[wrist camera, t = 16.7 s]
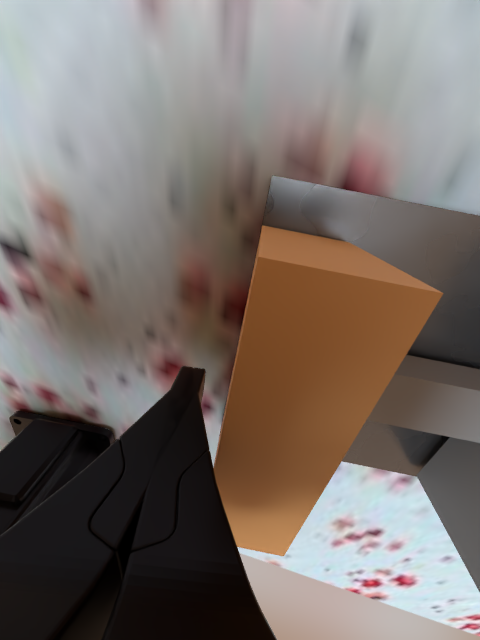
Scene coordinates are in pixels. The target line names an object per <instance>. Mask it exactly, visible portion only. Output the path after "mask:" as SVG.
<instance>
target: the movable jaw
mask: <svg viewBox="0 0 480 640" xmlns="http://www.w3.org/2000/svg"><path fill="white" fill-rule="evenodd" d="M442 295H443V293H442V292H440V291H438V290H437V289H435V288H433V287H431V286H429V285H427V284H425V283H424V282H422V281H420V280H418V279H416V278H414V277H412V276H411V275H409V274H407V273H405V272H403V271H401V270H399V269H398V268H396V267H394V266H392V265H390V264H388V263H386V262H385V261H383V260H381V259H379V258H377V257H375V256H374V255H372V254H370V253H368V252H366V251H364V250H362V249H361V248H359V247H357V246H355V245H353V244H351V243H349V242H345V241H340V240H335V239H330V238H325V237H319V236H314V235H309V234H304V233H299V232H294V231H289V230H284V229H279V228H274V227H269V226H264V225H262V230H261V235H260V239H259V244H258V249H257V254H256V259H255V264H254V269H253V274H252V279H251V284H250V289H249V294H248V299H247V303H246V308H245V313H244V318H243V323H242V328H241V333H240V338H239V343H238V348H237V353H236V358H235V363H234V367H233V372H232V377H231V382H230V387H229V392H228V397H227V402H226V407H225V412H224V417H223V422H222V427H221V432H220V437H219V442H218V447H217V452H216V458H215V463H214V468H213V469H214V473H215V478H216V482H217V486H218V489H219V493H220V496H221V499H222V503H223V506H224V509H225V512H226V515H227V518H228V521H229V524H230V527H231V530H232V533H233V536H234V539H235V542H236V545H237V547H241V548H246V549H251V550H255V551H260V552H265V553H270V554H275V555H280V556H284V555H285V553H286V551H287V550H288V548H289V546H290V545H291V543H292V542H293V540H294V538H295V537H296V535H297V533H298V532H299V530H300V528H301V527H302V525H303V523H304V522H305V520H306V519H307V517H308V515H309V514H310V512H311V510H312V509H313V507H314V505H315V504H316V502H317V500H318V499H319V497H320V496H321V494H322V492H323V491H324V489H325V487H326V486H327V484H328V482H329V481H330V479H331V477H332V476H333V474H334V473H335V471H336V469H337V468H338V466H339V464H340V463H341V461H342V459H343V458H344V456H345V454H346V453H347V451H348V450H349V448H350V446H351V445H352V443H353V441H354V440H355V438H356V436H357V435H358V433H359V431H360V430H361V428H362V426H363V425H364V423H365V422H366V420H368V421H373V422H378V423H383V424H388V425H393V426H398V427H403V428H408V429H413V430H418V431H423V432H428V433H433V434H438V435H442V436H447V437H450V438H449V439H448V440H447V441H446V442H445V444H444V445H443V446H442V447H441V448H440V449H439V450H438V451H437V453H436V454H435V455H434V456H433V457H432V458H431V459H430V460H429V462H428V463H427V464H426V465H425V466H424V467H423V468H422V469H421V471H420V472H419V473H418V474H417V477H418V479H419V481H420V483H421V485H422V486H423V488H424V490H425V492H426V494H427V496H428V498H429V499H430V501H431V503H432V505H433V507H434V509H435V510H436V512H437V514H438V516H439V518H440V520H441V522H442V523H443V525H444V527H445V529H446V531H447V533H448V534H449V536H450V538H451V540H452V542H453V544H454V546H455V547H456V549H457V551H458V553H459V555H460V557H461V558H462V560H463V562H464V564H465V566H466V568H467V570H468V571H469V573H470V575H471V577H472V579H473V581H474V582H475V584H476V586H477V588H478V590H479V592H480V369H475V368H470V367H465V366H460V365H455V364H450V363H445V362H440V361H435V360H430V359H425V358H420V357H415V356H410V355H406V354H407V353H408V351H409V349H410V348H411V346H412V344H413V343H414V341H415V339H416V338H417V336H418V334H419V333H420V331H421V330H422V328H423V326H424V325H425V323H426V321H427V320H428V318H429V316H430V315H431V313H432V311H433V310H434V308H435V307H436V305H437V303H438V302H439V300H440V298H441V297H442Z"/></svg>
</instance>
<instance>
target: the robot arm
mask: <svg viewBox="0 0 480 640" xmlns="http://www.w3.org/2000/svg"><path fill="white" fill-rule="evenodd" d="M205 374H206V370H205V369H201V368H193V367H187V366H182V367H181V369H180V371H179V373H178V375H177V377H176V379H175V381H174V383H173V385H172V387H171V390H169V391H168V392H167V393H166V394H165V395H164V396H163V397H162V398H161V399H160V400H159V401H158V402H157V403H156V404H155V405H153V406H152V407H151V408H150V409H149V410H148V411H147V412H146V413H145V414H144V415H143V416H142V417H141V418H140V419H139V420H137V421H136V422H135V423H134V424H133V425H132V426H131V427H130V428H129V429H128V430H127V431H126V432H125V433H124V434H123V435H121V436H120V440H119V439H117V440H116V441H115V442H114V437H113V433H112V432H111V431H110V430H108V429H106V428H101V427H96V426H91V425H86V424H81V423H76V422H71V421H66V420H62V419H57V418H52V417H47V416H42V415H37V414H32V413H27V412H22V411H17V412H16V413H14V414H13V415H12V416H11V417H10V422H11V424H12V427H13V430H14V432H15V435H16V437H15V438H14V439H13V440H12V441H11V442H9V443H8V444H7V445H6V446H5V447H4V448H3V449H2V450H1V451H0V640H277V639H276V637H275V635H274V633H273V632H272V630H271V628H270V626H269V624H268V622H267V620H266V618H265V616H264V614H263V613H262V611H261V608H260V606H259V604H258V602H257V600H256V597H255V595H254V592H253V590H252V588H251V585H250V582H249V580H248V577H247V574H246V571H245V569H244V566H243V563H242V560H241V557H240V554H239V551H238V548H237V545H236V542H235V539H234V536H233V533H232V530H231V527H230V524H229V521H228V518H227V515H226V512H225V509H224V506H223V503H222V499H221V496H220V493H219V489H218V486H217V482H216V478H215V473H214V469H213V465H212V460H211V454H210V451H209V445H208V439H207V434H206V429H205V424H204V418H203V413H202V408H201V401H202V396H203V391H204V383H205Z"/></svg>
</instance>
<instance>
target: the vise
mask: <svg viewBox="0 0 480 640" xmlns="http://www.w3.org/2000/svg"><path fill="white" fill-rule="evenodd" d="M262 225H264V226H269V227H274V228H279V229H284V230H289V231H294V232H299V233H304V234H309V235H314V236H319V237H325V238H330V239H335V240H340V241H345V242H349V243H351V244H353V245H355V246H357V247H359V248H361V249H362V250H364V251H366V252H368V253H370V254H372V255H374V256H375V257H377V258H379V259H381V260H383V261H385V262H386V263H388V264H390V265H392V266H394V267H396V268H398V269H399V270H401V271H403V272H405V273H407V274H409V275H411V276H412V277H414V278H416V279H418V280H420V281H422V282H424V283H425V284H427V285H429V286H431V287H433V288H435V289H437V290H438V291H440V292H442V293H443V295H442V297H441V298H440V300H439V302H438V303H437V305H436V307H435V308H434V310H433V311H432V313H431V315H430V316H429V318H428V320H427V321H426V323H425V325H424V326H423V328H422V330H421V331H420V333H419V334H418V336H417V338H416V339H415V341H414V343H413V344H412V346H411V348H410V349H409V351H408V353H407V354H406V355H410V356H415V357H420V358H425V359H430V360H435V361H440V362H445V363H450V364H455V365H460V366H465V367H470V368H475V369H480V216H478V215H473V214H467V213H462V212H457V211H452V210H447V209H442V208H437V207H432V206H426V205H421V204H416V203H411V202H406V201H401V200H396V199H391V198H386V197H380V196H375V195H370V194H365V193H360V192H355V191H350V190H345V189H340V188H334V187H329V186H324V185H319V184H314V183H309V182H304V181H299V180H294V179H288V178H283V177H278V176H273V175H272V178H271V183H270V188H269V193H268V198H267V203H266V208H265V213H264V218H263V223H262ZM261 230H262V228H261ZM260 235H261V233H260ZM259 239H260V238H259ZM258 244H259V243H258ZM257 249H258V247H257ZM256 254H257V252H256ZM255 259H256V257H255ZM254 264H255V262H254ZM253 269H254V267H253ZM252 274H253V272H252ZM251 279H252V277H251ZM250 284H251V282H250ZM249 289H250V287H249ZM248 294H249V292H248ZM247 299H248V297H247ZM246 303H247V302H246ZM245 308H246V307H245ZM244 313H245V312H244ZM243 318H244V317H243ZM242 323H243V322H242ZM241 328H242V327H241ZM240 333H241V331H240ZM239 338H240V336H239ZM238 343H239V341H238ZM237 348H238V346H237ZM236 353H237V351H236ZM235 358H236V356H235ZM234 363H235V361H234ZM233 367H234V366H233ZM232 372H233V371H232ZM231 377H232V376H231ZM230 382H231V381H230ZM229 387H230V386H229ZM228 392H229V391H228ZM227 397H228V396H227ZM226 402H227V401H226ZM225 407H226V406H225ZM224 412H225V411H224ZM223 417H224V415H223ZM222 422H223V420H222ZM221 427H222V425H221ZM220 432H221V431H220ZM449 438H450V437H447V436H442V435H438V434H433V433H428V432H423V431H418V430H413V429H408V428H403V427H398V426H393V425H388V424H383V423H378V422H373V421H368V420H366V422H365V423H364V425H363V426H362V428H361V430H360V431H359V433H358V435H357V436H356V438H355V440H354V441H353V443H352V445H351V446H350V448H349V450H348V451H347V453H346V454H345V456H344V458H343V459H342V461H343V462H348V463H353V464H358V465H363V466H368V467H373V468H378V469H383V470H388V471H393V472H397V473H402V474H407V475H412V476H417V474H418V473H419V472H420V471H421V469H422V468H423V467H424V466H425V465H426V464H427V463H428V462H429V460H430V459H431V458H432V457H433V456H434V455H435V454H436V453H437V451H438V450H439V449H440V448H441V447H442V446H443V445H444V444H445V442H446V441H447V440H448V439H449Z"/></svg>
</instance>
